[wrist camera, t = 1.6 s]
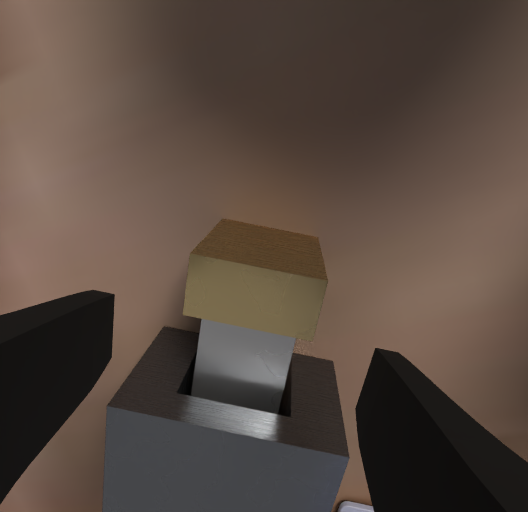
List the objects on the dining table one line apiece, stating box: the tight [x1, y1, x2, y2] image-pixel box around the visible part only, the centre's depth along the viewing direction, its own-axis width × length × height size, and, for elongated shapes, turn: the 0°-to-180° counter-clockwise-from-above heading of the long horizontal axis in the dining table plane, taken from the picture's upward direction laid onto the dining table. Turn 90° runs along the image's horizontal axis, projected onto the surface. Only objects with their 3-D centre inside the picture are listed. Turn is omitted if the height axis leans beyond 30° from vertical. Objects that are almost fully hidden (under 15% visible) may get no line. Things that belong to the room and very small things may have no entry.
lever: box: [183, 219, 328, 414], centre depth 17 cm, size 11×5×6 cm, turn 170°
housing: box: [102, 326, 349, 512], centre depth 18 cm, size 7×10×6 cm
